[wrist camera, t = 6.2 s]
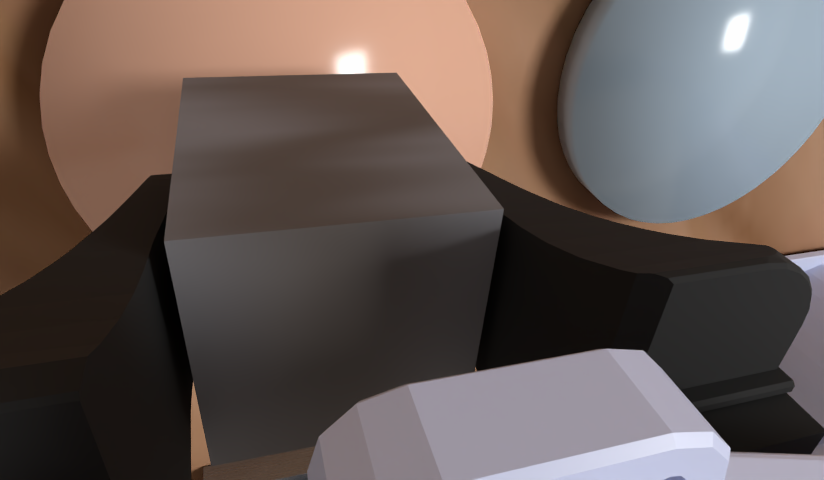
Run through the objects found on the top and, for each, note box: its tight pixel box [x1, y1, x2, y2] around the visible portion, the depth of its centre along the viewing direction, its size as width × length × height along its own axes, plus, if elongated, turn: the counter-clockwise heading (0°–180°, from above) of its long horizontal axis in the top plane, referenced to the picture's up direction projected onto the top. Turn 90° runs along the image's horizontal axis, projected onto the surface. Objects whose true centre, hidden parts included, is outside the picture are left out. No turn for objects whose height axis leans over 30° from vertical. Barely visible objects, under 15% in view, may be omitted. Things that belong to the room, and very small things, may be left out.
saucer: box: [557, 0, 824, 223], centre depth 18 cm, size 10×10×1 cm
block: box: [164, 73, 504, 466], centre depth 11 cm, size 4×4×6 cm
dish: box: [40, 0, 493, 231], centre depth 15 cm, size 11×11×1 cm
